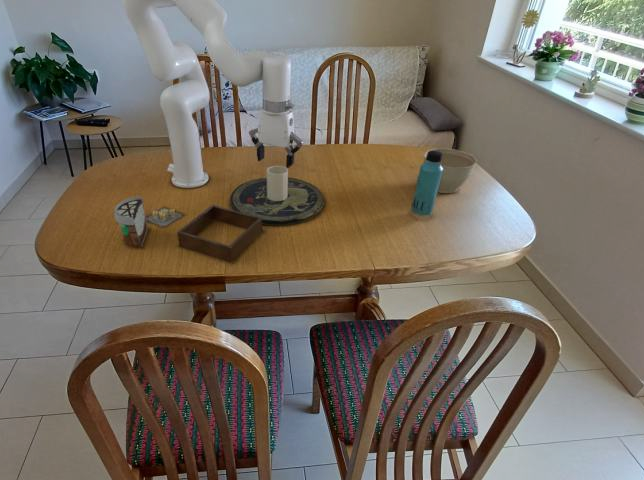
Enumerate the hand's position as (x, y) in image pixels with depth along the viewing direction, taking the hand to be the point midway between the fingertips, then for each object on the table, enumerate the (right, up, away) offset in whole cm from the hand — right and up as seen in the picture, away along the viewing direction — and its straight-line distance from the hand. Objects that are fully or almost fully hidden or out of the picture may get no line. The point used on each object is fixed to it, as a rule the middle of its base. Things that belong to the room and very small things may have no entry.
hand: (275, 163), depth 123 cm
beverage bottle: (+44, -16, +1) cm, 47 cm away
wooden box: (-15, -23, -10) cm, 29 cm away
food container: (-39, -24, -10) cm, 47 cm away
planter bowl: (+57, -5, +16) cm, 59 cm away
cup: (+1, -9, +6) cm, 11 cm away
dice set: (-33, -17, -1) cm, 37 cm away
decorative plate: (0, -11, +8) cm, 13 cm away
